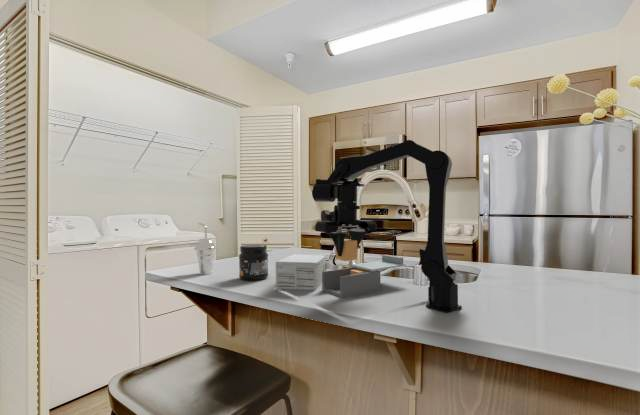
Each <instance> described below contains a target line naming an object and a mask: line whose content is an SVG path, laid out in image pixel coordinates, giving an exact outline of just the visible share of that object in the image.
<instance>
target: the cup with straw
mask: <svg viewBox="0 0 640 415" xmlns="http://www.w3.org/2000/svg"><path fill="white" fill-rule="evenodd" d="M198 225H200V226H201V227H202V226H203V227H204V238H202V239H200V240H199V241H198V242H197V243H196V246H195V247H194V249H193V250H194V251H196V256H197V260H198V270H199V275H202V274H206V275H211V274H213V272H212V271H213V269H214V268H213V266H214V257H215V252H216V249H217V246H216V245H215V242H214V241H213V240H212V239H210V238H208V234H207V233H208V231H207V230H208V228H207V225H206V224H204V223H201V222H198ZM210 273H211V274H210Z"/></svg>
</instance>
